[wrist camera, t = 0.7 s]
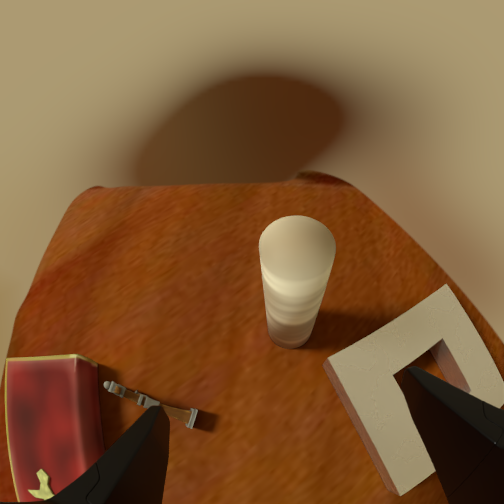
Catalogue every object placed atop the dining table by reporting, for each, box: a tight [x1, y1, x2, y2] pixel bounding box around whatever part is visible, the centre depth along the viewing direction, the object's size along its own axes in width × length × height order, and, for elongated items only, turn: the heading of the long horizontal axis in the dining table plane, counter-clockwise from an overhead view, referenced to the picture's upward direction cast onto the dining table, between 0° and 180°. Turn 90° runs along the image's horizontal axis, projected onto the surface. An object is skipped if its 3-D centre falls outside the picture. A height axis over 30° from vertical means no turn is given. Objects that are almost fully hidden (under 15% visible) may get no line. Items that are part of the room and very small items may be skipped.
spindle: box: [259, 216, 336, 349], centre depth 20 cm, size 4×4×13 cm
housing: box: [322, 284, 504, 496], centre depth 19 cm, size 14×14×3 cm
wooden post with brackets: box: [104, 381, 198, 429], centre depth 21 cm, size 2×8×4 cm, turn 75°
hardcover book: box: [5, 354, 105, 502], centre depth 17 cm, size 12×21×4 cm, turn 12°
